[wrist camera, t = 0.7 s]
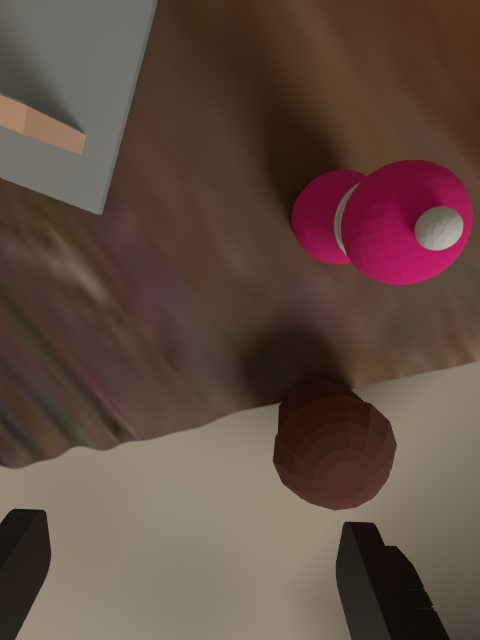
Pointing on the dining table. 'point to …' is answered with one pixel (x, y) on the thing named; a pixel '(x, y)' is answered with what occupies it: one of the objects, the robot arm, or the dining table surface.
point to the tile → (39, 124)
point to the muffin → (332, 445)
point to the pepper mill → (386, 220)
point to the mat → (71, 89)
